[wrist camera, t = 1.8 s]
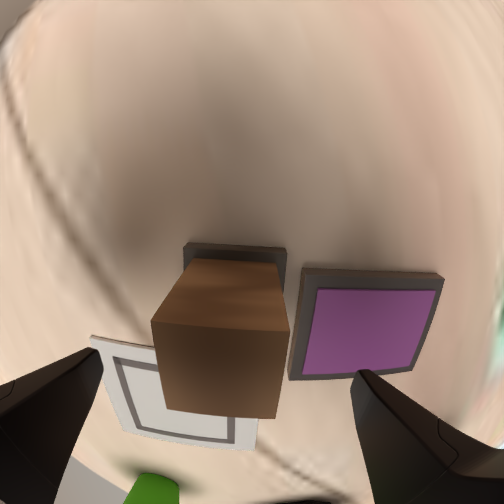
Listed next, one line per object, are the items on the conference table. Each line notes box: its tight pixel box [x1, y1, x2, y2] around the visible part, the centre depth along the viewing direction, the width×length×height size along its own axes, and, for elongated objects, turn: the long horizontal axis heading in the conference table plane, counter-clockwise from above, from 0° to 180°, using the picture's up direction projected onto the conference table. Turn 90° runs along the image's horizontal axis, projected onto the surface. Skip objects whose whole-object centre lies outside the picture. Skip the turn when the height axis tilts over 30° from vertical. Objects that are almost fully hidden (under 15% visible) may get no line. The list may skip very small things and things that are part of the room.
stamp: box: [151, 243, 290, 419], centre depth 11 cm, size 5×5×7 cm
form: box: [89, 336, 258, 451], centre depth 17 cm, size 12×11×1 cm
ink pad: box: [287, 268, 445, 381], centre depth 15 cm, size 9×7×1 cm
